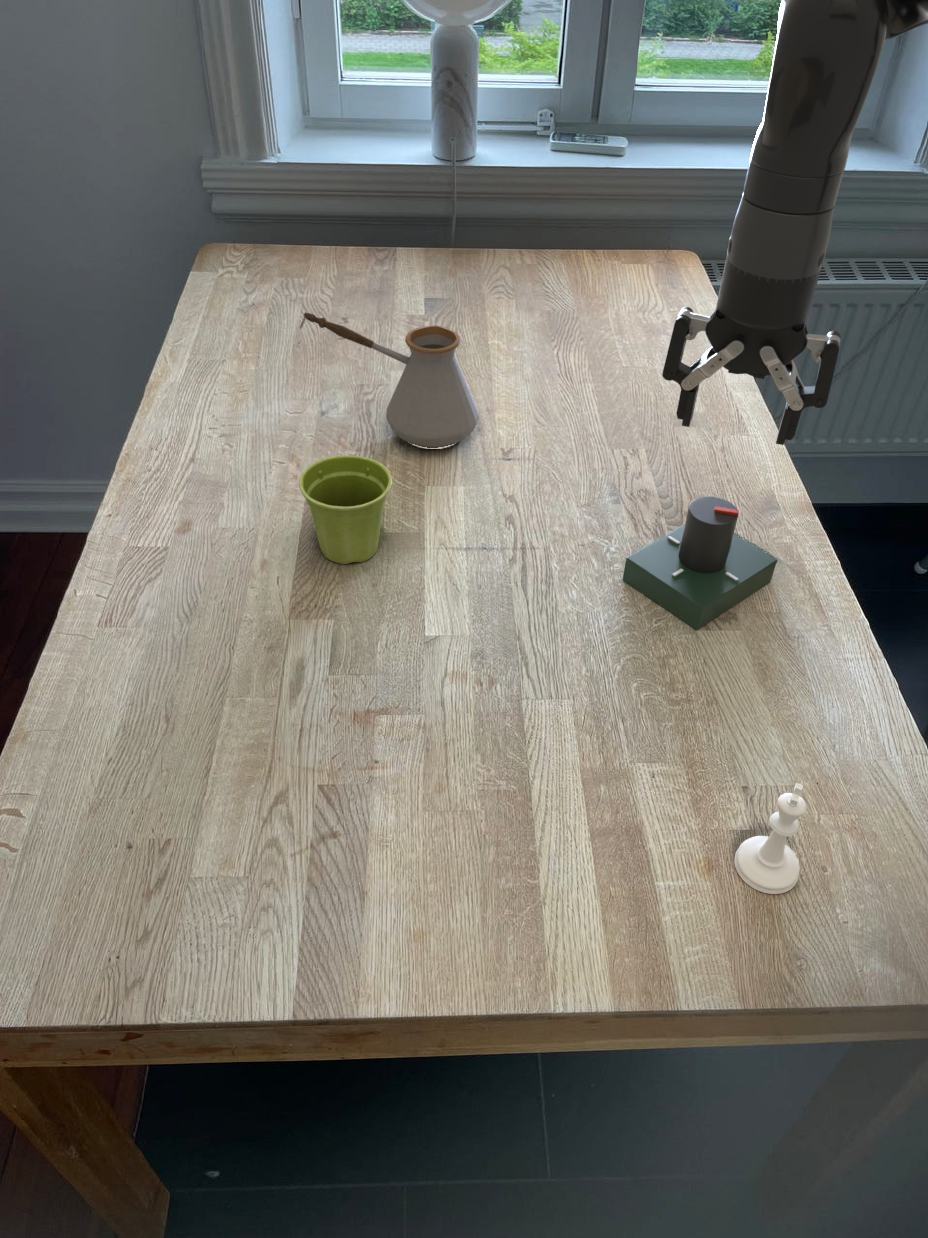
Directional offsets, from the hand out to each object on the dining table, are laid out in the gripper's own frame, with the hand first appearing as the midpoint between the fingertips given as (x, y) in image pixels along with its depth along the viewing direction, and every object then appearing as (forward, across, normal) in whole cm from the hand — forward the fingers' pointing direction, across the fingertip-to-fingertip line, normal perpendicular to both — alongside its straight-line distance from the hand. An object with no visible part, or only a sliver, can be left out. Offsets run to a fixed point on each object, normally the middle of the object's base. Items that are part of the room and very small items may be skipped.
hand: (732, 431), depth 89 cm
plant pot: (+18, +36, +8) cm, 41 cm away
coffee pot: (+18, +41, -16) cm, 47 cm away
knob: (+15, 0, 0) cm, 15 cm away
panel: (+18, 0, 0) cm, 18 cm away
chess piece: (+18, -11, +33) cm, 39 cm away
